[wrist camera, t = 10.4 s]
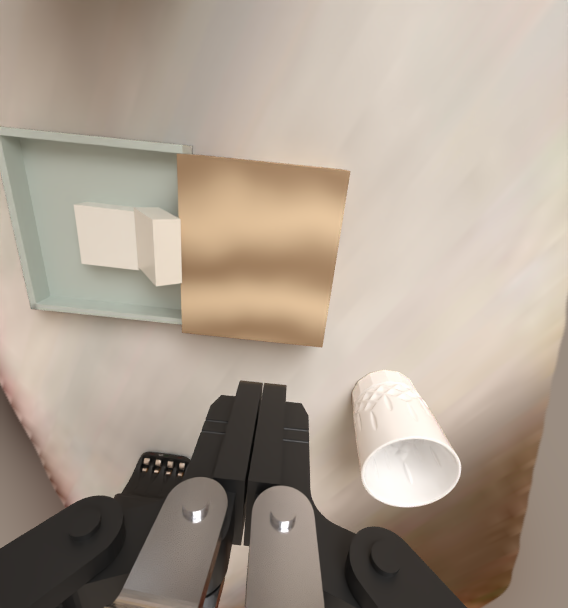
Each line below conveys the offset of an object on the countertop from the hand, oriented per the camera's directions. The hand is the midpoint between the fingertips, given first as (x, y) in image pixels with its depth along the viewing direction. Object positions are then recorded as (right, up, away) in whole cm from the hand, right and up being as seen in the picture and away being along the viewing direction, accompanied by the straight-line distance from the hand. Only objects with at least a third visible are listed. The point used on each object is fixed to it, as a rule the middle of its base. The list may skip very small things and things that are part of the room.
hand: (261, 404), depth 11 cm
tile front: (-9, +8, +16) cm, 20 cm away
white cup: (+11, -7, +26) cm, 29 cm away
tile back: (-14, +9, +17) cm, 24 cm away
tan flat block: (-1, +9, +20) cm, 21 cm away
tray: (-15, +10, +20) cm, 27 cm away
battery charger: (-14, -16, +31) cm, 37 cm away
